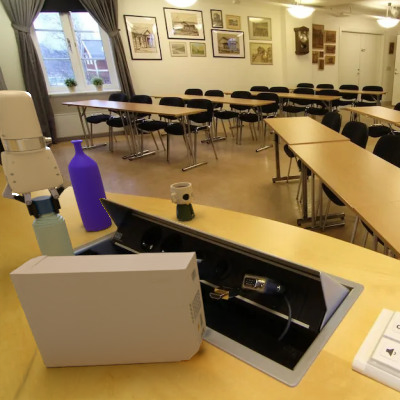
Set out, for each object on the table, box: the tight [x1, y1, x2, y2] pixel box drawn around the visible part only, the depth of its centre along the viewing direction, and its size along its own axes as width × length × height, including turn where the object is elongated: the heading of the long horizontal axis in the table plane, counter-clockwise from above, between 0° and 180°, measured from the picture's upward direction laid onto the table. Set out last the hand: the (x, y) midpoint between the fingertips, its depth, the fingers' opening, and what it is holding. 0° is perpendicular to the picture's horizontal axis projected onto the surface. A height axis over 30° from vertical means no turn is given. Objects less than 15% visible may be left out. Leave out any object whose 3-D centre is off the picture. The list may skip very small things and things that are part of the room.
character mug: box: [169, 181, 196, 221], centre depth 117 cm, size 11×7×13 cm, turn 163°
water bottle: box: [31, 211, 76, 256], centre depth 85 cm, size 7×7×19 cm
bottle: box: [67, 139, 112, 232], centre depth 106 cm, size 8×8×30 cm
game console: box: [9, 251, 207, 368], centre depth 58 cm, size 6×27×20 cm, turn 94°
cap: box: [31, 195, 55, 214], centre depth 82 cm, size 4×4×4 cm
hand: (46, 214), depth 83 cm, fingers closed on cap, 3 cm apart
